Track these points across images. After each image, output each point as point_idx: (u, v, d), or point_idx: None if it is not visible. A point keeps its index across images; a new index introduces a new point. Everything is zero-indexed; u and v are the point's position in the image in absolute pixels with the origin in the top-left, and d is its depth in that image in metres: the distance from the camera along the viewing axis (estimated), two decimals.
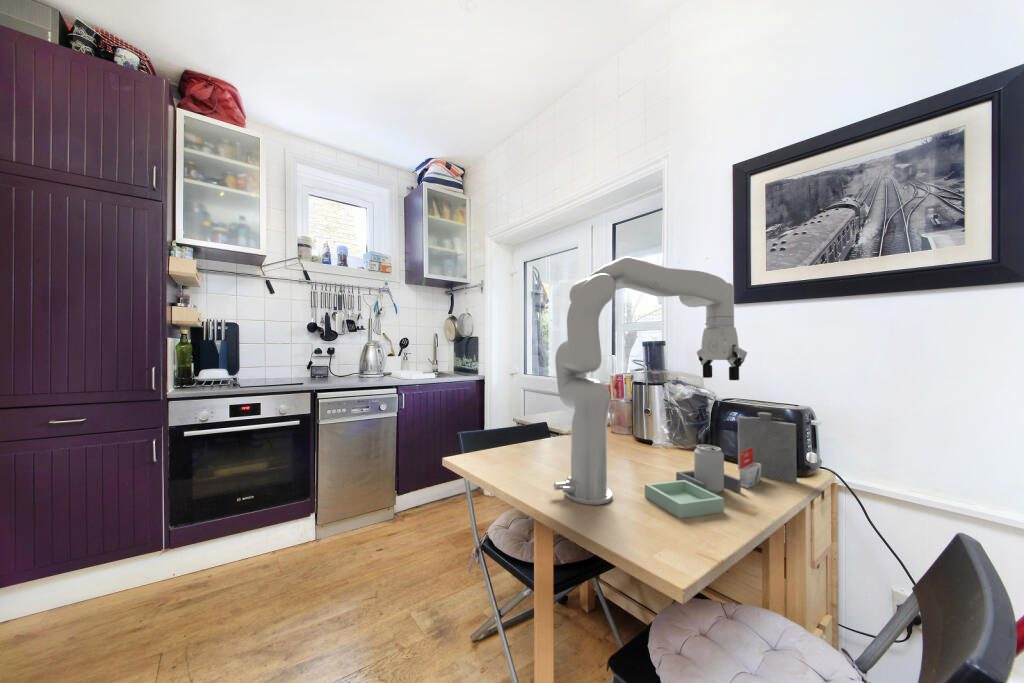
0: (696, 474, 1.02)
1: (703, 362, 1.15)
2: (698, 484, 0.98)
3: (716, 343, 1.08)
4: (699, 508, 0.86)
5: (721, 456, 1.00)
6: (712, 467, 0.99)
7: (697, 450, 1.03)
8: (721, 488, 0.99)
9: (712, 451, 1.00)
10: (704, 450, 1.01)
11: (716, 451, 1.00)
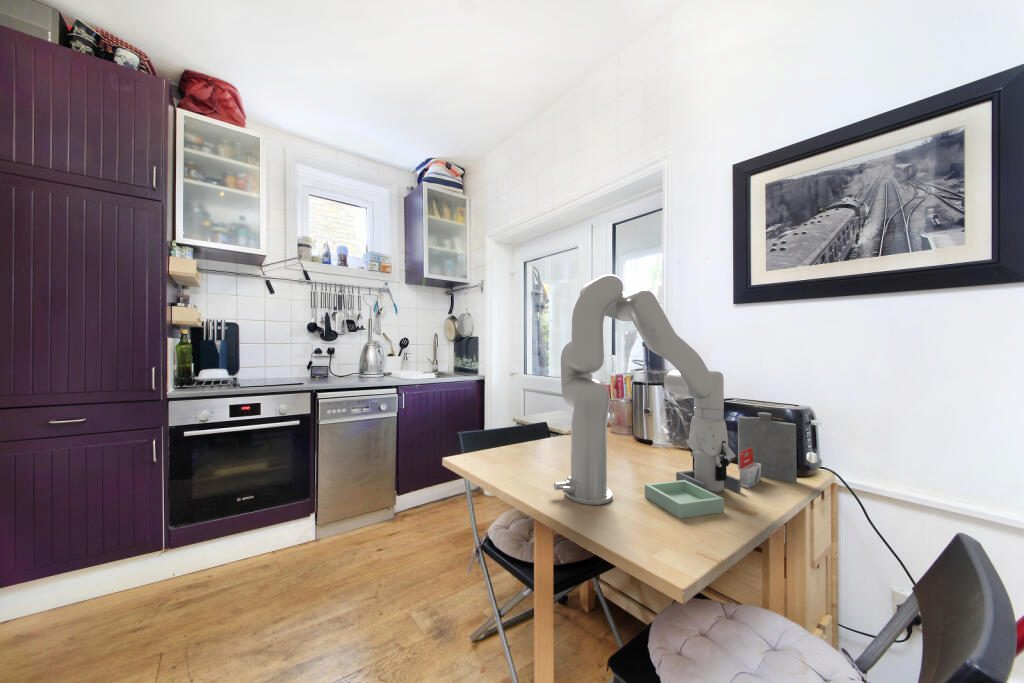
0: (696, 474, 1.02)
1: (693, 454, 1.07)
2: (698, 484, 0.98)
3: (704, 437, 1.01)
4: (699, 508, 0.86)
5: None
6: (712, 466, 0.99)
7: (697, 450, 1.03)
8: (721, 488, 0.99)
9: None
10: None
11: None
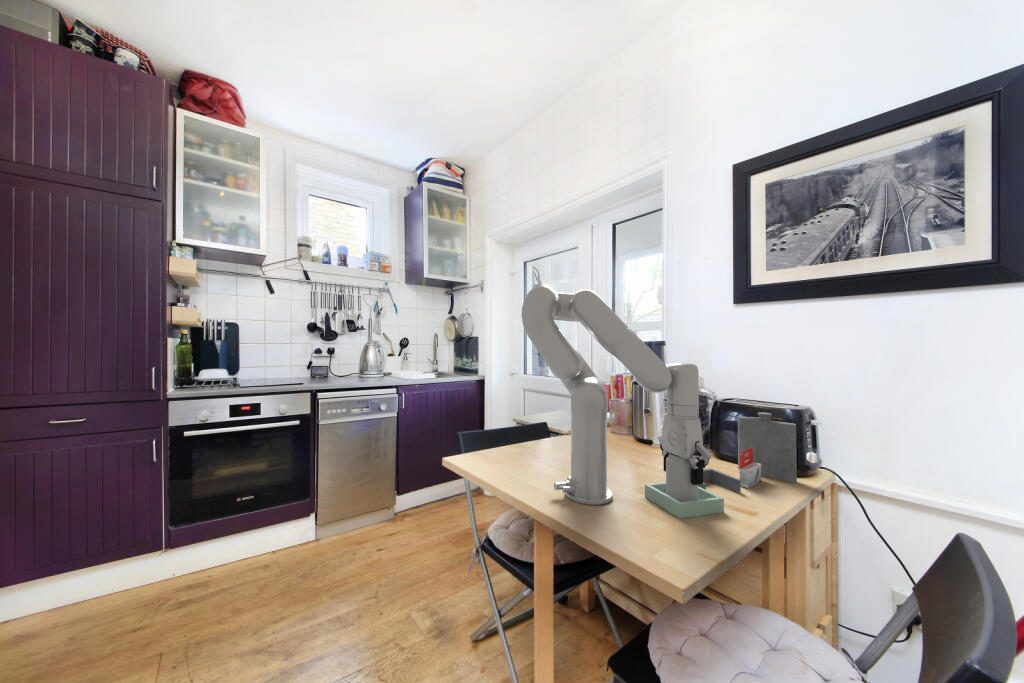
0: (667, 484, 0.92)
1: (664, 453, 0.97)
2: None
3: (677, 436, 0.90)
4: (699, 508, 0.86)
5: None
6: (684, 476, 0.89)
7: (669, 458, 0.93)
8: None
9: (684, 459, 0.90)
10: (676, 458, 0.90)
11: None
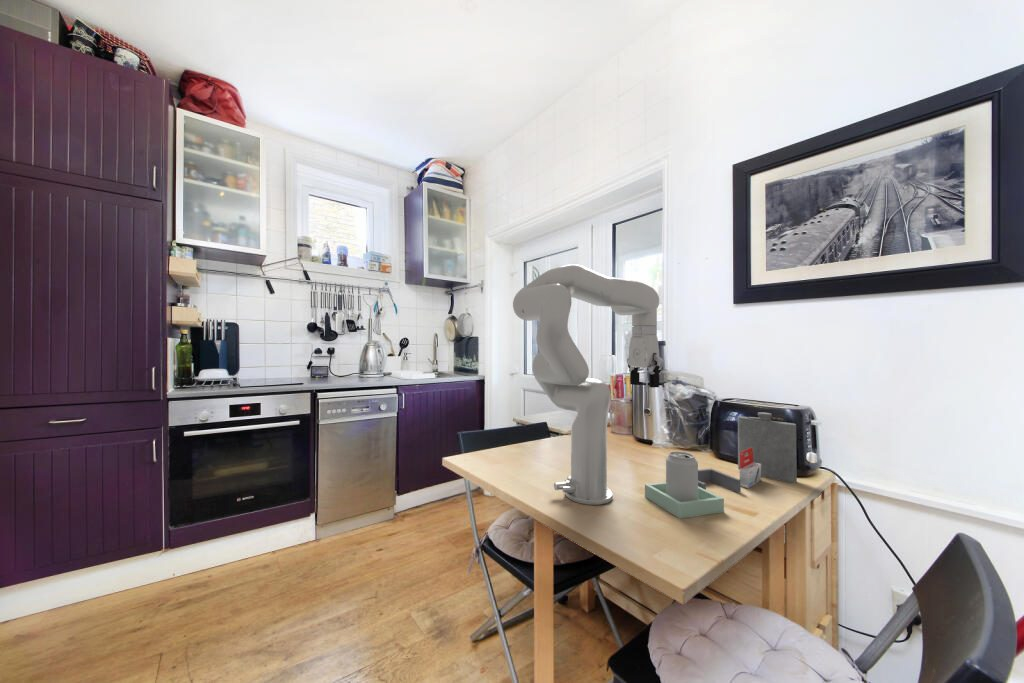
0: (667, 484, 0.92)
1: (631, 369, 1.19)
2: (698, 484, 0.98)
3: (639, 351, 1.12)
4: (699, 508, 0.86)
5: (694, 464, 0.89)
6: (684, 476, 0.89)
7: (669, 457, 0.93)
8: None
9: (684, 459, 0.90)
10: (676, 458, 0.90)
11: (689, 459, 0.90)
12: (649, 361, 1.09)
